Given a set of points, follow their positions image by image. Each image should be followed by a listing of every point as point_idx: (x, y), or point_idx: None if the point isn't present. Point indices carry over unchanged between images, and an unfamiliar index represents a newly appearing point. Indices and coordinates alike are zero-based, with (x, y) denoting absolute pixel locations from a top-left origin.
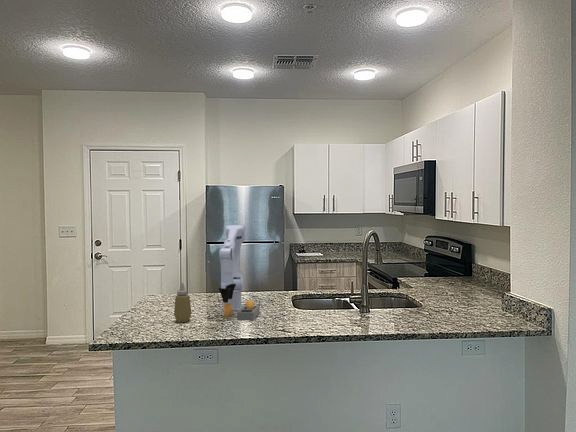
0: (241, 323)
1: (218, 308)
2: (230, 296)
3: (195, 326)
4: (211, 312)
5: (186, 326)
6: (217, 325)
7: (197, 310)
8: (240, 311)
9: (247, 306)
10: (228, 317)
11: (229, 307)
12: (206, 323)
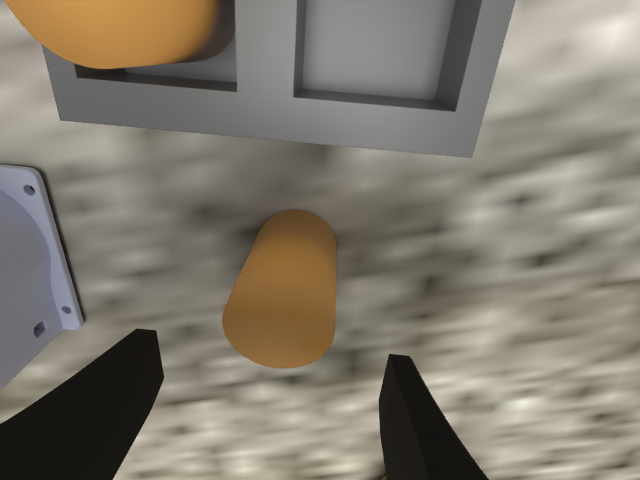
0: (619, 53)
1: (38, 355)
2: (135, 377)
3: (580, 414)
4: (175, 381)
5: (560, 454)
6: (610, 285)
7: (141, 456)
8: (414, 114)
9: (197, 27)
10: (334, 237)
11: (327, 284)
12: (513, 366)
